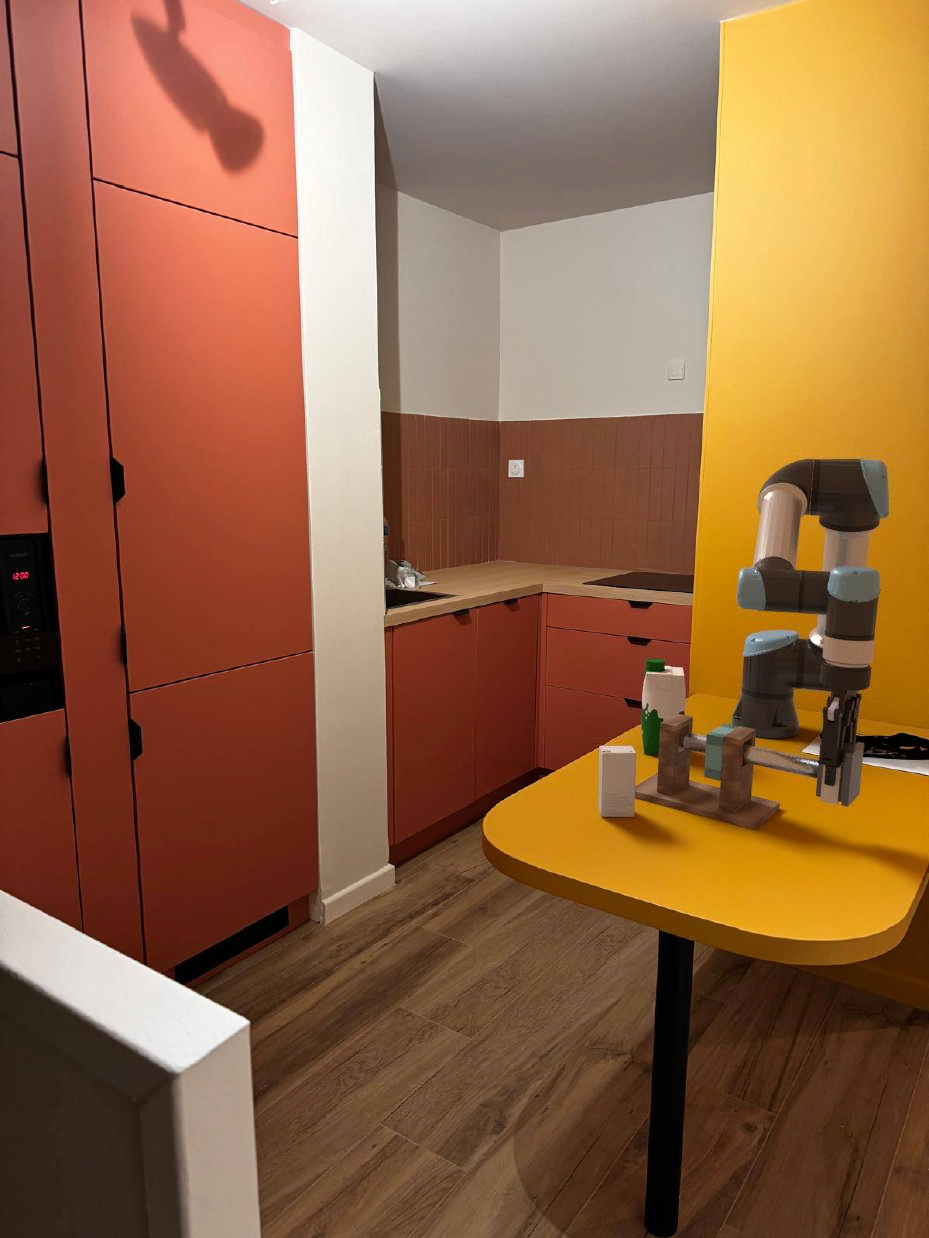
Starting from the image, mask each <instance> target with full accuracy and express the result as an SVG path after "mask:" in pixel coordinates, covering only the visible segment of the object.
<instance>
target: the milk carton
mask: <svg viewBox="0 0 929 1238" xmlns="http://www.w3.org/2000/svg"><path fill="white" fill-rule="evenodd" d="M684 673H685V672H684V668H683V667H681V666H680V667H676V666H670V665H666V661H665V659H663V658H657V657H655V658H653V657H650V658H647V659H645V668H644V680H643V687H642V696H641V716H640V717H641V718H640V726H641V738H642V745H643V747H642V748H643V754H644V755H653V756H659V740H660V723H661V722H663V721H665V720H667V719H669V718H671V717H673V716H675V715H677V714H681V715H685V714H686V697H687V695H686V694H687V693H686V692H687V691H686V680H685V679H686V678H685V674H684Z"/></svg>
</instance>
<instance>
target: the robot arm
mask: <svg viewBox="0 0 929 1238" xmlns="http://www.w3.org/2000/svg"><path fill="white" fill-rule="evenodd" d="M889 496H890V495H889V478H888V467H887V465H886V463H885V462H884V461H882V460H879V459H864V458H862V457H861V458H819V459H817V458H804V459H799V460H795V461H793V462H790V463H788V464H786V465H784V466H782V467H781V468H779V469H778V470H776V471H775V472H774V473H772V474H771V475H770V477H768V478H767V480H766V481H765V482H764V483H763V485H762V486H761V489H759V493H758V496H757V503H756V504H757V505H756V507H757V511H758V512H757V513H759V515H760V517H759V524H758V530H757V535H756V544H755V550H754V554H753V555H754V557H753V560H752V561H753V563H752V566H751V567H743V568H741V569H740V570H739V572H738V579H737V586H736V589H737V590H736V603H737V605H738V608H740V609H744V610H750V611H758V612H775V613H776V612H777V613H795V614H804V615H805V614H807V615H817V621H816V622H817V623H816V624H817V625H816V627H814V628H813V629H812V630H810V632H809V635H808V638H800V635H799V632H797V631H796V630H787V629H771V630H761V631H758V632H753V633H751V634H749V635H748V636H747V637H746V638H745V641H744V649H743V652H742V656H743V665H742V678H741V691H740V696H739V699H738V700H737V703H736V706H735V708H734V711H733V713H732V716H731V721H730V722H731V723H730V725H733V726H738V727H739V726H742V727H747V728H752V729H756V737H758V738H766V739H788V738H792V737H795V736H797V735H799V732H800V719H799V717H798V716H799V715H798V712H797V709H796V705H795V700H794V698H795V697H794V696H795V695H794V694H795V693H794V692H795V690H796V689H797V690H807V691H818V692H828V693H830V695H828V696H827V699H826V706H823V708H822V729H821V730H822V731H821V743H820V744H821V753H820V760H819V759H818V763H819V764H823V776H822V787H821V797H819V798H820V799H819V801H820V802H823V803H827V804H831V805H835V806H838V805H839V803H840V802H839V793H840V783H841V773H842V766H840V765H841V763H840V762H841V756H842V749H843V742H847V743H852V744H856V743H857V742H856V741H857V731H858V723H859V721H858V720H859V713H860V712H859V711H860V705H861V700H862V697H863V696H862V693H860V692H861V691H864V690H867V689H868V688H869V689H870V686H871V679H872V670H873V669H872V667H871V665H870V664H872V663H873V661H874V660H873V659H874V650H875V638H876V637H875V636H876V635H875V633H876V632H875V631H876V623H877V617H878V609H879V599H880V598H879V597H880V595H881V590H882V589H881V572H879V570H877V569H875V568H872V567H868V565H867V564H868V554H869V547H870V538H871V533H873V532H874V531H875V530H877V529H878V528H879V526H880V523H881V522H880V521H881V520H882V519H885V518H888V517H889V514H890V500H889V499H890V498H889ZM803 516H816V517H819V518H818V524H819V525H820V527H821V528H822V529H824V531H825V537H824V547H823V548H824V549H823V557H822V560H823V561H822V568H821V569H822V570H820V571H819V570H806V569H805V570H804V569H797V562H798V552H799V551H798V550H799V541H800V531H801V530H800V529H801V520H802V517H803Z"/></svg>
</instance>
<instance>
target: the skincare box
mask: <svg viewBox="0 0 929 1238" xmlns="http://www.w3.org/2000/svg"><path fill="white" fill-rule="evenodd" d="M598 749H599V751H598V753H599V755H598V796H597V797H598V801H597V802H598V805H597V807H598V811H599V814H600V816H601V817H602V818H603V817H604V818H634V817H635V813H636V811H635V810H636V809H635V807H636V806H635V805H636V798H635V786H636V781H637V779H636V775H637V773H636V772H637V753H636V750H635V749H634V747H633V745H599V748H598Z"/></svg>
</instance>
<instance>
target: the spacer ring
mask: <svg viewBox="0 0 929 1238" xmlns="http://www.w3.org/2000/svg"><path fill="white" fill-rule="evenodd" d="M736 728H738V726H733V725H731V724H727V723H723V724H721V725H719V726H717V727H716V728H714V729H713V730H711V731H709V732H708V733H706V736H707V737H706V753H705V754H704V755H705V756H704V770H703V771H704V772H703V778H706V779H710V780H713V781H714V780H715V781H719V782H721V768H722V753H723V737H724V736H725V735H726V734H728V733H729V732H731V731H733V730H734V729H736Z"/></svg>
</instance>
